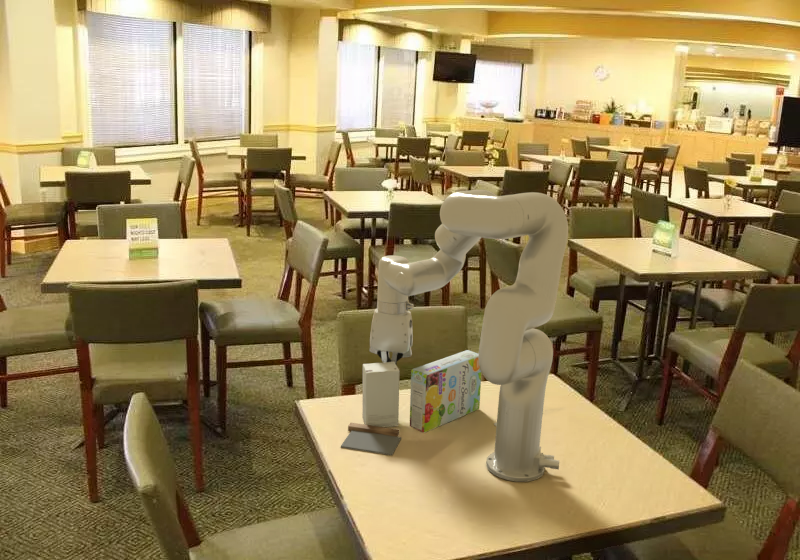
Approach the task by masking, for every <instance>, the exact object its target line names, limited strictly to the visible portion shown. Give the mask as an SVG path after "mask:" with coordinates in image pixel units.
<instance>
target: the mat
mask: <svg viewBox="0 0 800 560" xmlns="http://www.w3.org/2000/svg"><path fill="white" fill-rule="evenodd" d="M400 441H402V437H401V436H398V437H396V436H390V435H383V434H376V433H370V432H363V431H356V430H352V431H349V434H348V435H347V436H346V437H345V439H344V441H343V442H342V444H341V445H340V448H341V449H342V448H343V449H349V450H356V451H360V452H361V451H362V452H368V453H374V454H381V455H387V456H393V455H394V453H395V451H396V449H397V447H398V445H399V444H400Z"/></svg>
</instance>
